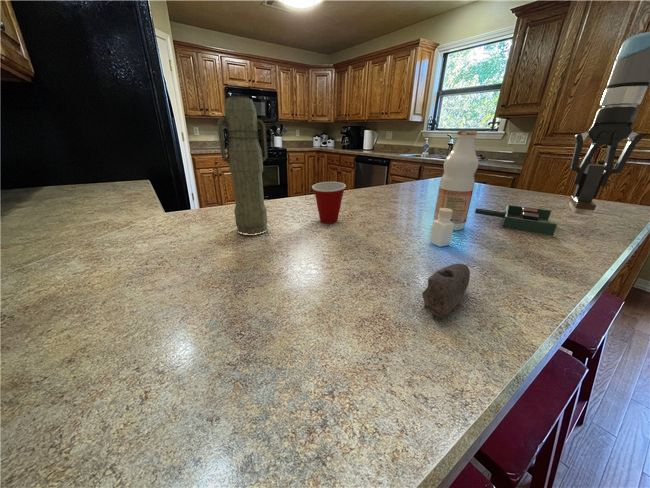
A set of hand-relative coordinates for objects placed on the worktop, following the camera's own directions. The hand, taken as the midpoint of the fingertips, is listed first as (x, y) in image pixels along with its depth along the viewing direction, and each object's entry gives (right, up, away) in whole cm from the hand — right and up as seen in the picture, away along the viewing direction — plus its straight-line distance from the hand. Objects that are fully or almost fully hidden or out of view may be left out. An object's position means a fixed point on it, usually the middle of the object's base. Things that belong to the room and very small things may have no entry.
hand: (584, 196), depth 79 cm
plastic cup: (-75, -7, +10) cm, 76 cm away
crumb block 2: (-12, -8, +7) cm, 16 cm away
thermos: (-98, -10, +1) cm, 98 cm away
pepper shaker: (-46, -14, -7) cm, 48 cm away
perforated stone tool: (-55, -25, -31) cm, 68 cm away
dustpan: (-13, -6, +12) cm, 19 cm away
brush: (0, -4, +2) cm, 4 cm away
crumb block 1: (-8, -6, +13) cm, 16 cm away
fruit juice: (-37, -8, +7) cm, 39 cm away
